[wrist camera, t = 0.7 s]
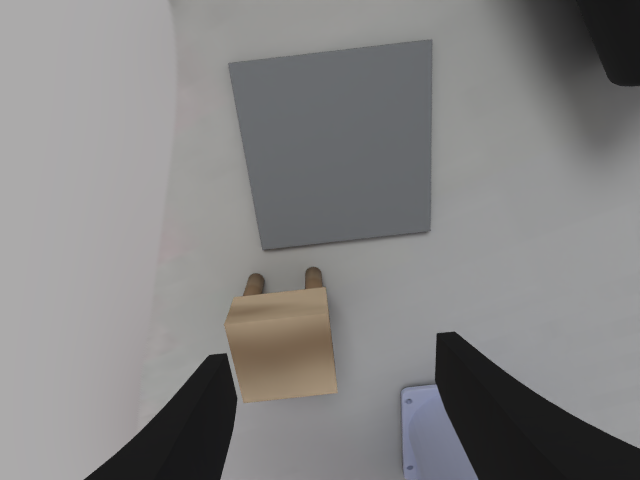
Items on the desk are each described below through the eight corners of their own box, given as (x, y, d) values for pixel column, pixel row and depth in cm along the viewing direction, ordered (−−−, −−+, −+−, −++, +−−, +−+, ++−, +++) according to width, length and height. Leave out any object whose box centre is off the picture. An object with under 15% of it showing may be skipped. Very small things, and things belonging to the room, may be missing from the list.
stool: (331, 329, 24) (337, 392, 19) (257, 337, 24) (243, 403, 19) (323, 262, 22) (328, 313, 17) (243, 271, 22) (224, 324, 17)
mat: (428, 228, 22) (430, 230, 21) (263, 247, 22) (262, 249, 21) (429, 40, 18) (432, 39, 17) (229, 63, 18) (227, 63, 18)
